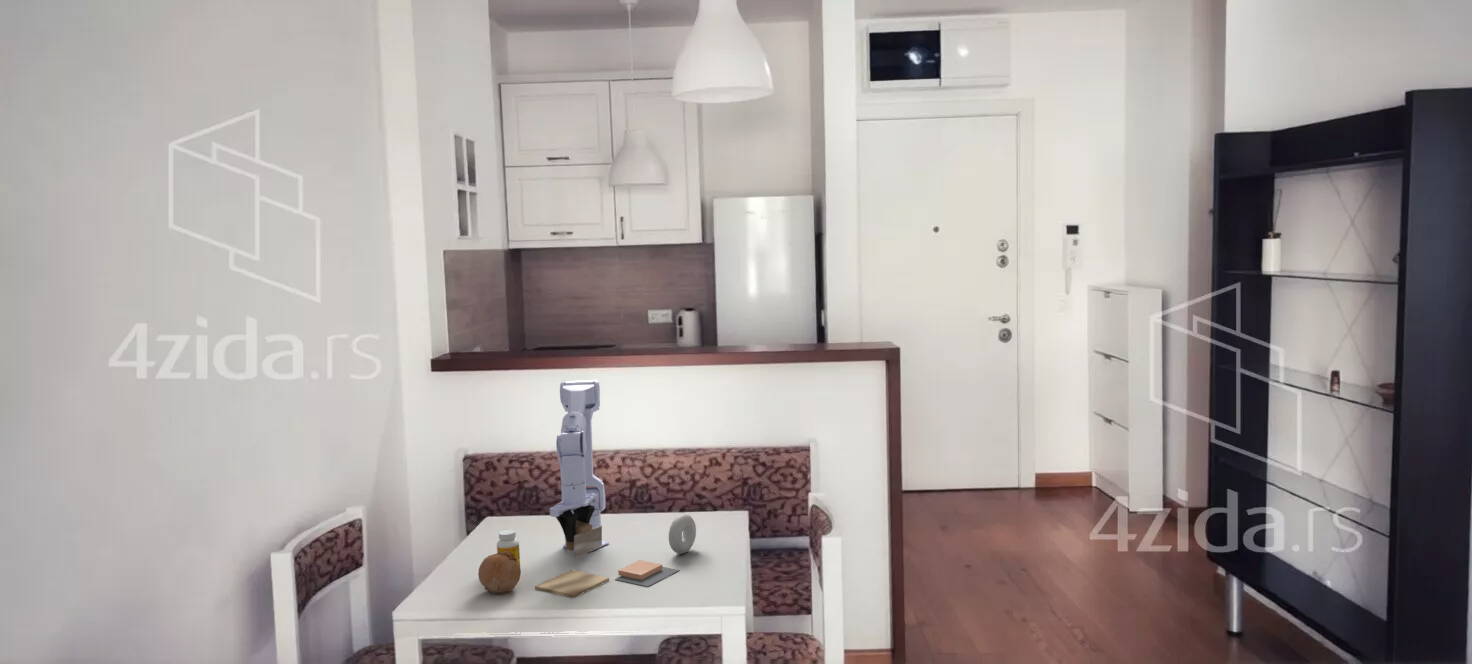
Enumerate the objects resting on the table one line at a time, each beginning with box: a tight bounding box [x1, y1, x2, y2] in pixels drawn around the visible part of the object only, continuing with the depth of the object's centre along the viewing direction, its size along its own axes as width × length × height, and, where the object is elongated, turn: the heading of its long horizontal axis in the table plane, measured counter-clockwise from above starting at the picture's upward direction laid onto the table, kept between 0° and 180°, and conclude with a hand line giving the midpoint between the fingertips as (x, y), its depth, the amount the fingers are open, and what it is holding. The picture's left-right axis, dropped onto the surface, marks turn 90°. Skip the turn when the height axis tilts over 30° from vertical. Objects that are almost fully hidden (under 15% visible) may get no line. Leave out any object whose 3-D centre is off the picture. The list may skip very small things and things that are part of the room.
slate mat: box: [614, 566, 680, 588], centre depth 218 cm, size 10×12×1 cm
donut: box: [668, 513, 697, 555], centre depth 233 cm, size 10×3×10 cm, turn 150°
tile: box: [617, 559, 663, 580], centre depth 220 cm, size 1×8×7 cm
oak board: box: [534, 569, 610, 598], centre depth 214 cm, size 12×12×1 cm
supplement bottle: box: [496, 529, 521, 566], centre depth 225 cm, size 5×5×10 cm
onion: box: [478, 551, 522, 595], centre depth 211 cm, size 10×9×10 cm
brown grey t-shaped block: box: [565, 520, 603, 558], centre depth 217 cm, size 6×9×6 cm, turn 147°
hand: (576, 538), depth 218 cm, fingers closed on brown grey t-shaped block, 3 cm apart
